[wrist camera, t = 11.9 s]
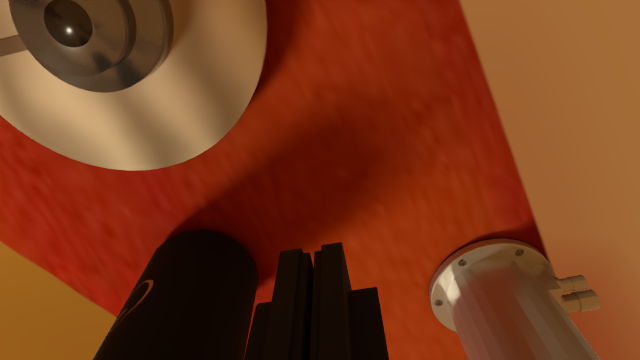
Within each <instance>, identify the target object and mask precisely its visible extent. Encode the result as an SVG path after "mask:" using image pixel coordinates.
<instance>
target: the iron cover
mask: <svg viewBox="0 0 640 360" xmlns="http://www.w3.org/2000/svg"><path fill="white" fill-rule="evenodd" d="M8 1H9V7H10V13H11V16H12V20H13V23H14V25H15V28H16V30H17V33H18V34H19V36H20V38H21V40H22V42H23V43H24V45H25V46H26V48H27V49H28V51H29V52H30V53H31V54H32V56H33V57H34V58H35V59H36V60H37V61H38V62H39V63H40V64H41V65H42V66H43V67H44V68H45V69H46V70H47V71H49V72H50V73H51V74H52V75H54V76H55V77H57V78H58V79H60V80H62V81H64V82H66V83H67V84H69V85H72V86H74V87H77V88H79V89H83V90H86V91H92V92H100V93H108V92H116V91H121V90H124V89H127V88H129V87H131V86H133V85H135V84H136V83H138V82H140V81H141V80H143V79H145V78H146V77H148V76H150V75H151V74H153V73H154V72H155V71H156V70H157V69H158V68H159V67H160V66H161V65H162V64H163V62H164V61H165V59H166V58H167V56H168V54H169V51H170V49H171V45H172V42H173V35H174V21H173V13H172V9H171V5H170V2H169V0H8Z"/></svg>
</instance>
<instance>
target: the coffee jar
mask: <svg viewBox="0 0 640 360" xmlns="http://www.w3.org/2000/svg"><path fill="white" fill-rule="evenodd" d="M258 278H259V277H258V273H257V269H256V264H255V262H254V260H253V259H252V257H251V256H250V254H249V253H248V251H247V250H246V249H245V248H244V247H243V246H242V245H241V244H239V243H238V242H237V241H236V240H234V239H233V238H231V237H229V236H226V235H224V234H222V233H219V232H214V231H208V230H197V231H188V232H183V233H181V234H179V235H176V236H174V237H171V238H169V239H167V240H166V241H165V242H164V243H163V244H162V245H161V246H160V247H158V248H157V249H156V251H155V253H154V254H153V256H152V258H151V260H150V261H149V263H148V265H147V267H146V268H145V270H144V272H143V274H142V275H141V277H140V279H139V281H138V282H137V284H136V286H135V287H134V289H133V291H132V293H131V294H130V296H129V298H128V300H127V301H126V303H125V305H124V307H123V308H122V310H121V312H120V314H119V315H118V317H117V319H116V321H115V322H114V324H113V326H112V327H111V329H110V331H109V333H108V335H107V336H106V338H105V340H104V341H103V343H102V345H101V347H100V348H99V350H98V352H97V353H96V355H95V357H94V359H93V360H244V355H245V349H246V344H247V338H248V333H249V328H250V322H251V317H252V311H253V306H254V301H255V295H256V290H257V284H258Z"/></svg>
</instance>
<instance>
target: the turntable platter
mask: <svg viewBox="0 0 640 360" xmlns="http://www.w3.org/2000/svg"><path fill="white" fill-rule="evenodd" d="M169 2H170V5H171V9H172V13H173V21H174V35H173V42H172V45H171V49H170V51H169V54H168V56H167V58H166V59H165V61H164V62H163V64H162V65H161V66H160V67H159V68H158V69H157V70H156V71H155V72H154V73H153V74H151V75H150V76H148V77H146V78H145V79H143V80H141V81H140V82H138V83H136V84H135V85H133V86H131V87H129V88H127V89H124V90H121V91H116V92H108V93H100V92H92V91H86V90H83V89H79V88H77V87H74V86H72V85H69V84H67V83H66V82H64V81H62V80H60V79H58V78H57V77H55V76H54V75H52V74H51V73H50V72H49V71H47V70H46V69H45V68H44V67H43V66H42V65H41V64H40V63H39V62H38V61H37V60H36V59H35V58H34V57H33V56H32V54H31V53H30V52H29V51H28V49H27V48H26V46H25V45H24V43H23V42H22V40H21V38H20V36H19V34H18V33H17V30H16V28H15V25H14V23H13V20H12V16H11V13H10V7H9V1H8V0H0V115H1V116H2V117H3V118H5V119H6V120H7V121H8V122H10V123H11V124H12V125H13V126H14V127H16V128H17V129H18V130H20V131H21V132H23V133H24V134H26V135H27V136H29V137H30V138H32V139H33V140H35V141H36V142H38V143H40V144H42V145H44V146H45V147H47V148H49V149H51V150H53V151H55V152H57V153H59V154H62V155H64V156H67V157H69V158H71V159H74V160H77V161H80V162H83V163H87V164H90V165H94V166H99V167H104V168H109V169H118V170H129V171H130V170H151V169H157V168H164V167H168V166H171V165H175V164H178V163H182V162H184V161H186V160H189V159H191V158H193V157H195V156H197V155H199V154H201V153H202V152H204V151H206V150H207V149H209V148H210V147H212V146H213V145H214V144H216V143H217V142H218V141H219V140H220V139H222V138H223V137H224V136H225V135H226V134H227V133H228V132H229V131H230V129H231V128H232V127H233V126H234V125H235V124H236V123H237V121H238V120H239V118H240V117H241V115H242V114H243V112H244V111H245V109H246V108H247V106H248V104H249V102H250V100H251V98H252V96H253V93H254V91H255V89H256V87H257V85H258V82H259V79H260V76H261V73H262V70H263V67H264V61H265V55H266V50H267V35H268V22H267V9H266V1H265V0H169Z"/></svg>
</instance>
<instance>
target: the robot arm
mask: <svg viewBox="0 0 640 360" xmlns="http://www.w3.org/2000/svg"><path fill="white" fill-rule="evenodd" d="M583 289H587V282H586V279H585V278H584V276H582V275H579V276H573V277H568V278H566V279H558V278H556V277H554V274H553V270H552V268H551V266H550V263H549V262H548V261H547V260H546V258H545V257H544V256H543V254H541V253H540V252H539V251H538V250H537V249H536V248H534V247H533V246H531V245H529V244H527V243H524V242H521V241H518V240H513V239H490V240H484V241H480V242H477V243H474V244H471V245H468V246H466V247H464V248H462V249H460V250H458V251H457V252H455V253H454V254H453V255H451V256H450V257H448V258H447V259H446V260H445V261H444V262H443V263H442V264H441V265H440V267H439V268H438V270H437V271H436V272H435V274H434V276H433V278H432V281H431V283H430V289H429V300H430V303H431V306H432V310H433V312H434V314H435V316H436V317H437V319H438V320H439V321H440V322H441V323H442V324H443V325H444V326H446V327H447V328H449V329H451V330H453V331H455V332H457V333H458V335H459V338H460V340H461V343H462V345H463V348H464V350H465V353H466V355H467V358H468V360H600V358H599V357H598V356H597V354H596V353H595V351H594V350H593V349H592V347H591V346H590V345H589V343H588V342H587V341H586V339H585V338H584V337H583V335H582V334H581V332H580V331H579V330H578V328H577V327H576V326H575V324H574V323H573V322H572V320H571V319H570V318H569V316H568V313H570V312H575V311H578V312H582V311H589V310H594V309H599V307H600V302H599V298H598V296H597V294H596V293H595V292H594V291H593V290H592V289H590V290H583ZM577 290H583V291H577ZM567 291H577V292H572V293H571V294H566V295H563V292H567ZM244 360H389V357H388V351H387V345H386V339H385V333H384V327H383V321H382V315H381V309H380V303H379V297H378V291H377V287H373V288H366V289H359V290H351V285H350V280H349V275H348V270H347V265H346V260H345V255H344V250H343V246H342V243H341V242H339V243H333V244H326V245H322V247H321V251H316V252H315V255H314V268H313V264H312V259H311V256H310V253H303V251H302V249H301V248H300V249H293V250H287V251H281V253H280V258H279V263H278V269H277V275H276V280H275V286H274V291H273V297H272V302H266V303H259V304H258V305H257V306H256V309H255V313H254V317H253V322H252V326H251V331H250V335H249V339H248V344H247V348H246V353H245V357H244Z"/></svg>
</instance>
